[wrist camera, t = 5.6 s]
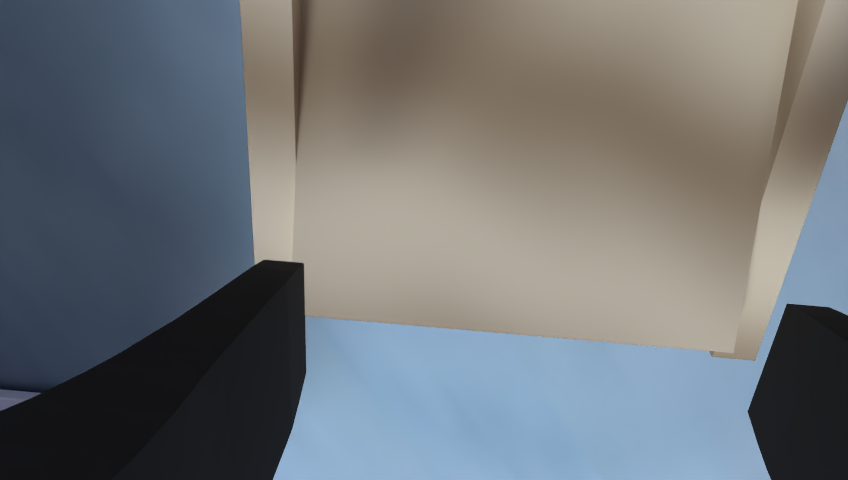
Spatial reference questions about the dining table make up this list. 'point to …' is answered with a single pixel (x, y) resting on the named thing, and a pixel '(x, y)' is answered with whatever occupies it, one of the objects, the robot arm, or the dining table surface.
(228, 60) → the dining table surface
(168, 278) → the dining table surface
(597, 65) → the tray
